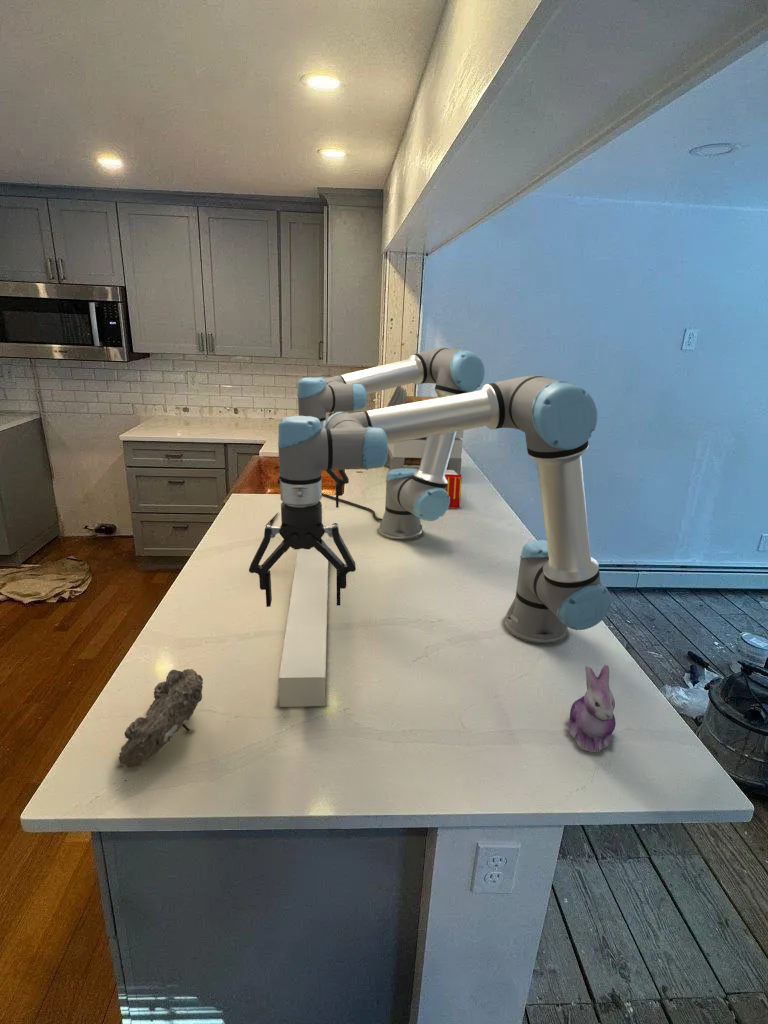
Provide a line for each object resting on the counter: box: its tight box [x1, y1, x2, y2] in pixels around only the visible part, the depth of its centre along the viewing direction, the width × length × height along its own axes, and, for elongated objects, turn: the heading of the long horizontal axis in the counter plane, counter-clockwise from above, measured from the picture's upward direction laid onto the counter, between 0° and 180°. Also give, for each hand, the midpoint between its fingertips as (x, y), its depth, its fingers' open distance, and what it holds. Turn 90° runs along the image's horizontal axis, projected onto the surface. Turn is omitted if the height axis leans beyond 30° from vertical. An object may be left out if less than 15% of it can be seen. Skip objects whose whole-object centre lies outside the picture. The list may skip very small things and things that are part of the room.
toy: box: [445, 470, 463, 509], centre depth 239 cm, size 12×13×30 cm
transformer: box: [383, 386, 465, 475], centre depth 268 cm, size 34×33×41 cm
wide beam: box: [278, 536, 330, 708], centre depth 144 cm, size 71×9×7 cm, turn 5°
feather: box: [265, 512, 279, 526], centre depth 210 cm, size 2×28×2 cm
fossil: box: [118, 668, 204, 768], centre depth 103 cm, size 22×10×15 cm
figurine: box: [568, 664, 617, 753], centre depth 105 cm, size 9×10×15 cm
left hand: (313, 506), depth 166 cm, fingers open, 13 cm apart
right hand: (304, 602), depth 112 cm, fingers open, 13 cm apart
